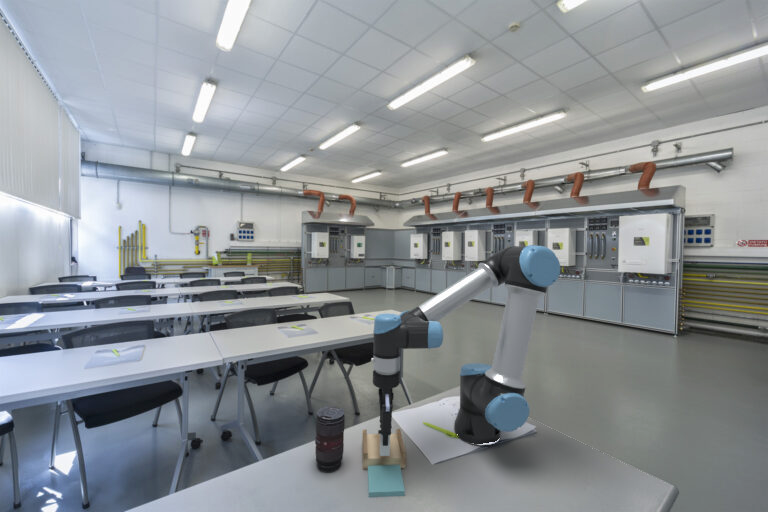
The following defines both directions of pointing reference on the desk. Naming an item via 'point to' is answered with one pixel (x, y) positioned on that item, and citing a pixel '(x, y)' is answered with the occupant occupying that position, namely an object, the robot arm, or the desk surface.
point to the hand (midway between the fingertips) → (384, 454)
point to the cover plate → (385, 481)
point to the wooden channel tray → (373, 450)
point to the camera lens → (329, 438)
